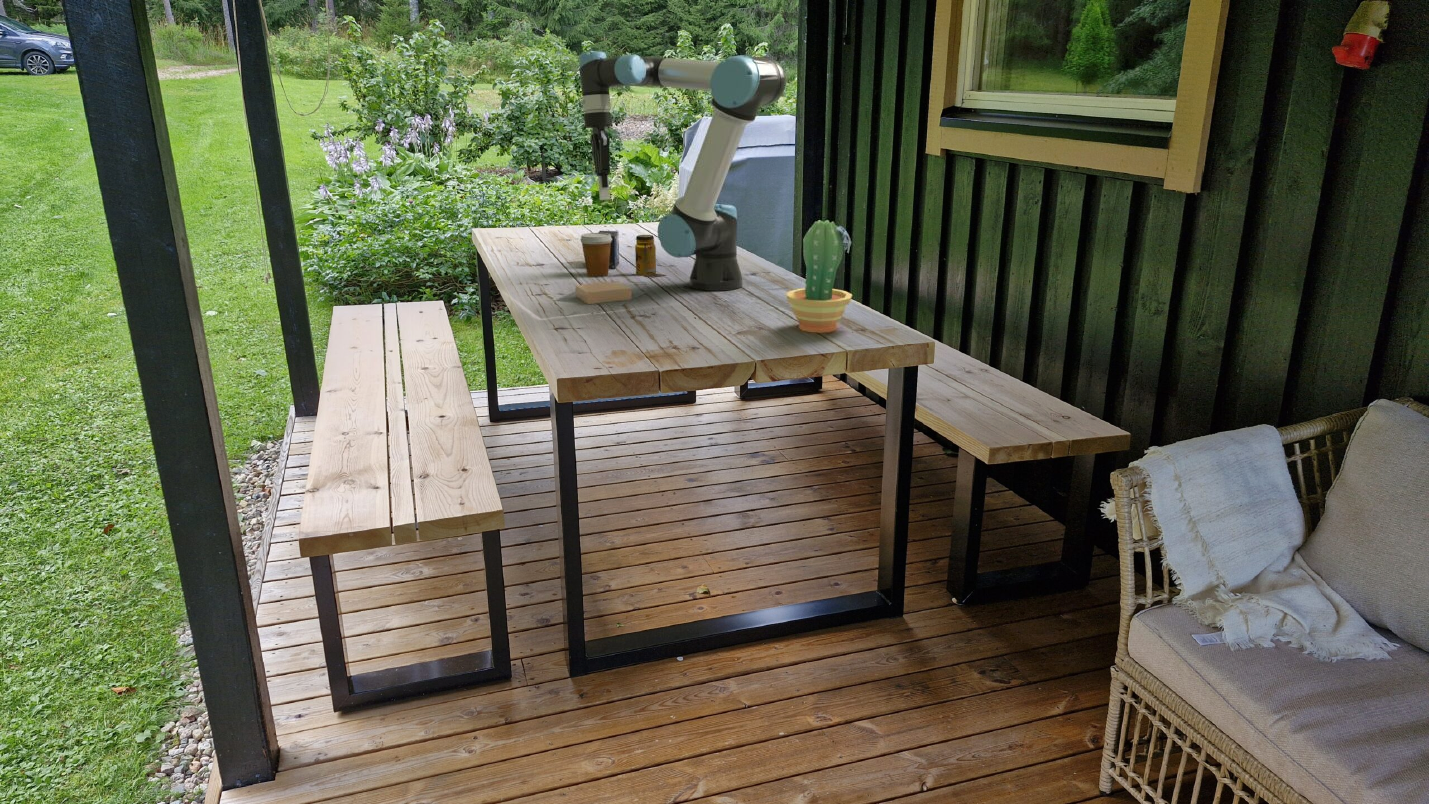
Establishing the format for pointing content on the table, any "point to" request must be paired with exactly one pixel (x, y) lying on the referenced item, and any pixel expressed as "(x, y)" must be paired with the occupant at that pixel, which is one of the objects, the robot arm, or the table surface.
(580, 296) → the tile
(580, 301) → the mat
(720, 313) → the table surface
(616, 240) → the small box
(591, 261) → the disposable coffee cup
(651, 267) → the condiment
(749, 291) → the table surface
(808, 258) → the potted cactus
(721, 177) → the robot arm
